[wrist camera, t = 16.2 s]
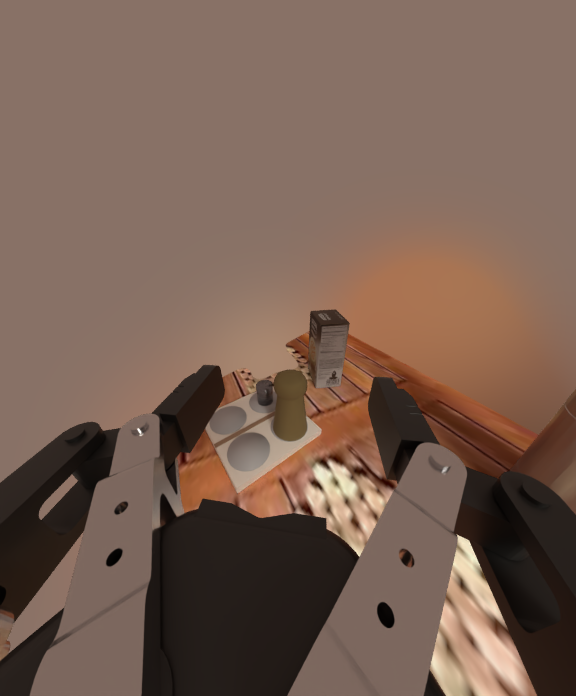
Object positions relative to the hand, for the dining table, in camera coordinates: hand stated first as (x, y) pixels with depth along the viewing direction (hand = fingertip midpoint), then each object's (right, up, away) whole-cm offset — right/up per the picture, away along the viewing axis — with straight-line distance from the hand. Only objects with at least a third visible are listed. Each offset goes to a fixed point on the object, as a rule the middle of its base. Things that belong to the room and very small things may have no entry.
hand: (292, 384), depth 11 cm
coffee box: (+9, -5, +41) cm, 42 cm away
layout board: (-6, -13, +27) cm, 30 cm away
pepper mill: (0, -12, +25) cm, 28 cm away
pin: (-5, -9, +31) cm, 33 cm away
